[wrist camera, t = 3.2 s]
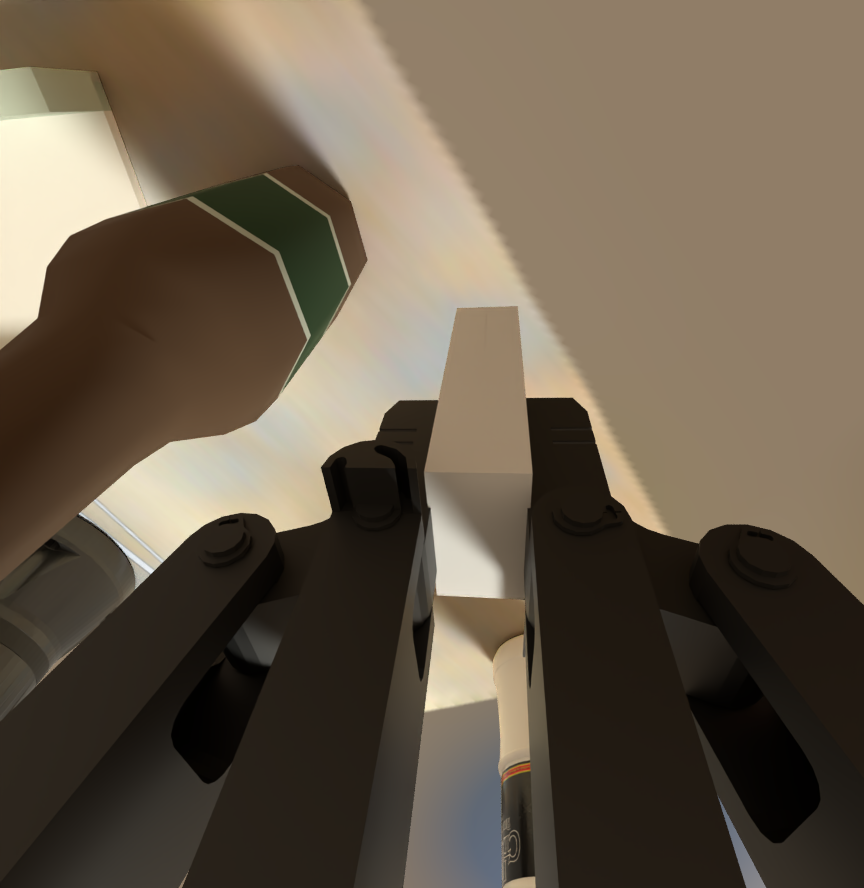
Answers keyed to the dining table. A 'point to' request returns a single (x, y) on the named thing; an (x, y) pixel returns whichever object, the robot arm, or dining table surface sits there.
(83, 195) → the rest
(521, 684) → the vodka
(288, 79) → the dining table surface
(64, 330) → the beer bottle
